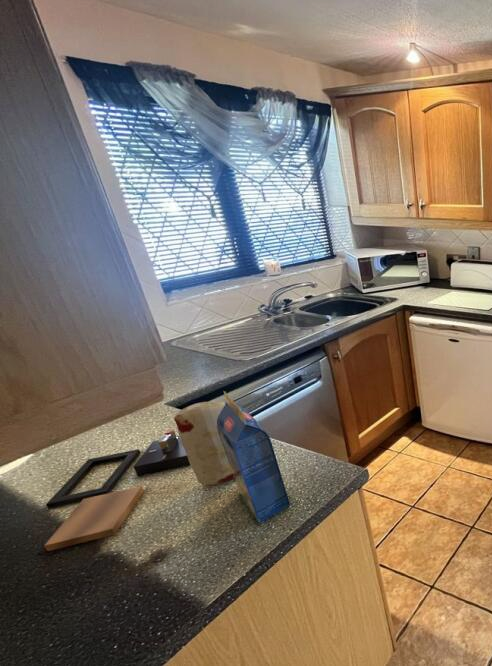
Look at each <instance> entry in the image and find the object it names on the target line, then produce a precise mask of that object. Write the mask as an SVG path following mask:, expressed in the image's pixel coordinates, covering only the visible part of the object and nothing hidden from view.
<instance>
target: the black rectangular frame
mask: <svg viewBox="0 0 492 666" xmlns="http://www.w3.org/2000/svg"><path fill="white" fill-rule="evenodd" d="M141 453H142V451H140V449H139V448H138V449H132V450H128V451H122V452H117V453H113V454H108V455H102V456H97V457H93V458H92V457H91V458H88V459H87V460H86V461H85V462H84V463H83V464H82V465H81V467H80V468H78V469H77V471H75V473H74V474H73V475H72V476H71V477H70V478H69V479H68V481H66V482H65V483H64V484H63V486H62V487H61V488H60V489H59V490H58V491H57V492H56V493H55V494H54V495H53V496H52V497H51V498H50V499H49V500H48V501H47V502H46V503H45V506H46V507H47V509H53V508H56V507H61V506H66V505H70V504H76V503H80V502H81V501H82V500H83V499H86V498H90V497H95V496H99V495H103V494H108V493H112V490H113V489H114V488H115V486H116V485H117V484H118V483H119V482H120V480H121V479H122V478H123V477H124V475H125V474H126V472H127V471H128V470H129V469H130V467H131V466H132V465H133V463H134V462H135V461H136V460H137V458H138V457H139V456H140V454H141ZM120 461H121V462H120ZM114 462H120V464H119V465H118V467H116V469H115V470H114V471H113V472H112V474H111V475H109V477H108V479H107V480H106V481H105V482H104V483H103V485H102V486H101V487H99V488H94V489H90V490H85V491H81V492H76V493H71V492H73V490H74V489H75V488H76V487H77V486H78V485H79V483H81V481H82V480H83V479H85V477H86V476H87V475H88V474H89V472H90V471H92V469H93V468H94V467H95V466H99V465H103V464H110V463H114Z"/></svg>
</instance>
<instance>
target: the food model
mask: <svg viewBox="0 0 492 666" xmlns="http://www.w3.org/2000/svg"><path fill="white" fill-rule="evenodd" d="M225 404H226V402H224V401H218V400H217V401H211V402H209V401H202V402H197V403H193V404H191V405H188V406H186V407H184V408H182V409H181V410H180V411H178V412H177V414H175V416H174V417H173V420H174V422H175V425H176V428H177V431H178V432H177V433H178V436H180V440H181V443H182V446H183V448H184V450H185V452H186V454H187V457H188V460H189V463H190V468H191V469H192V471H193V473H194V475H195V477H196V481H197V483H199V484H200V485H208V486H209V485H216V484H223V483H225V482H229V481H232V480H235V478H234V475H233V472H232V469H231V467H230V464H229V461H228V458H227V455H226V453H225V450H224V447H223V444H222V441H221V439H220V436H219V433H218V429H217V419H218V416H219V414H220V412H221V411H222V409H223V407H224V406H225Z"/></svg>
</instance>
